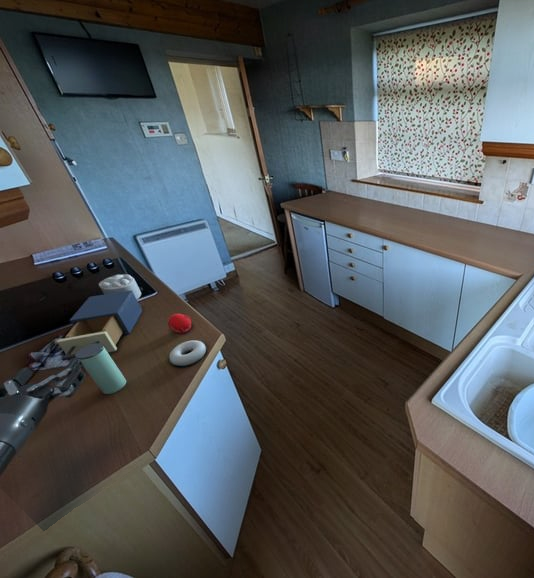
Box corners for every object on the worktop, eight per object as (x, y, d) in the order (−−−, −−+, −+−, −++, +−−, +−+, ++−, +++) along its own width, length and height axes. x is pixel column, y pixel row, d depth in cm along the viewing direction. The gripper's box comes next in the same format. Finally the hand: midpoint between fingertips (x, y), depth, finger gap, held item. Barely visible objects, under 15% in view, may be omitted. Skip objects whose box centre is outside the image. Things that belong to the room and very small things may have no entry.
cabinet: (129, 333, 103) (117, 312, 98) (84, 342, 99) (69, 320, 94) (142, 310, 114) (132, 290, 110) (102, 317, 111) (89, 296, 106)
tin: (98, 396, 81) (70, 360, 73) (106, 381, 85) (81, 345, 78) (122, 390, 82) (97, 354, 75) (129, 376, 87) (106, 341, 79)
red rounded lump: (198, 327, 106) (192, 314, 103) (182, 337, 102) (176, 323, 98) (183, 321, 109) (177, 308, 106) (167, 330, 104) (161, 317, 101)
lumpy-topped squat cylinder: (132, 286, 129) (123, 269, 124) (147, 295, 123) (138, 277, 119) (103, 298, 121) (93, 280, 117) (118, 307, 116) (107, 289, 111)
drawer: (108, 363, 90) (96, 345, 86) (60, 373, 86) (45, 354, 82) (130, 325, 105) (120, 309, 101) (90, 332, 101) (78, 315, 98)
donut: (185, 372, 88) (214, 351, 96) (181, 364, 87) (210, 343, 94) (164, 362, 92) (193, 342, 100) (160, 354, 90) (190, 334, 98)
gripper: (-37, 455, 51) (22, 385, 64) (66, 429, 56) (101, 368, 69) (-71, 430, 47) (-2, 361, 60) (42, 404, 52) (84, 344, 65)
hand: (53, 365), depth 64 cm, fingers open, 8 cm apart
